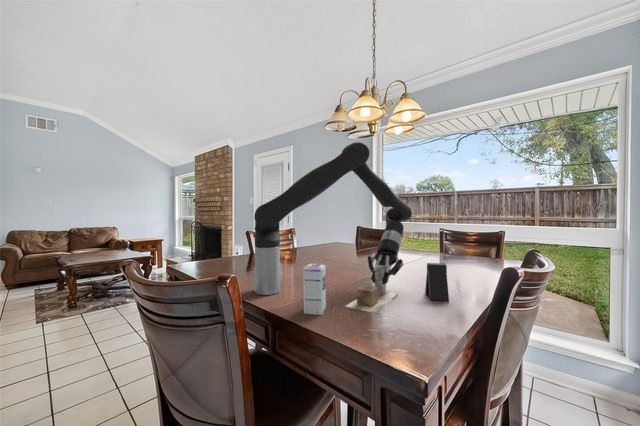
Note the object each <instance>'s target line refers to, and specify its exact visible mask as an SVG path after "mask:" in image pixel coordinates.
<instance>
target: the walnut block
mask: <svg viewBox="0 0 640 426" xmlns="http://www.w3.org/2000/svg"><path fill="white" fill-rule="evenodd" d="M356 299H357V305H362V306H366V307H371V308H372V307H373V306H375V305H376V304H377V303H378V287H375V286H371V285H364V284H363V285H362V286H360V287H359V286H358V288H356Z"/></svg>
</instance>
